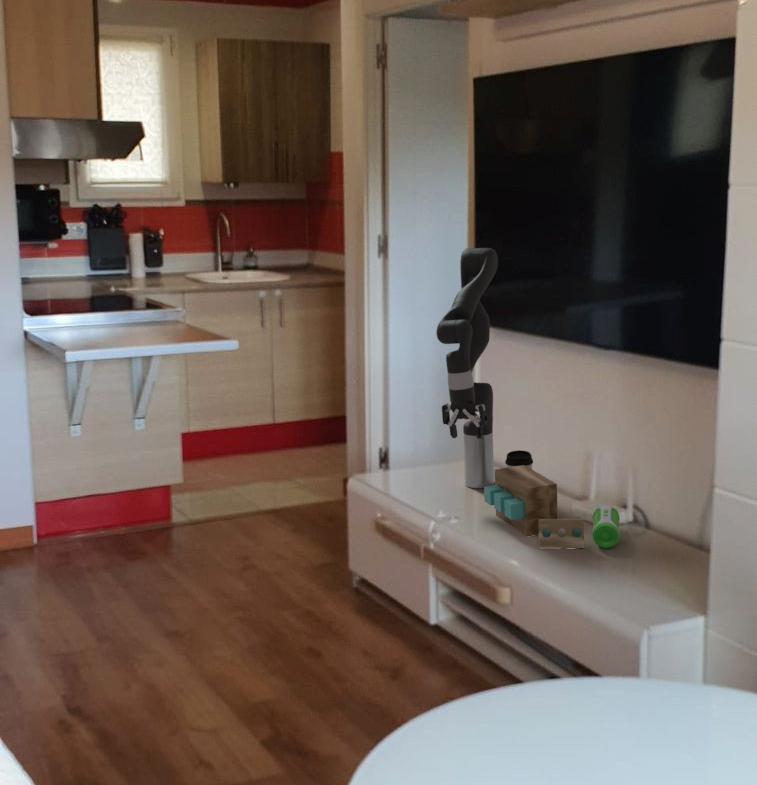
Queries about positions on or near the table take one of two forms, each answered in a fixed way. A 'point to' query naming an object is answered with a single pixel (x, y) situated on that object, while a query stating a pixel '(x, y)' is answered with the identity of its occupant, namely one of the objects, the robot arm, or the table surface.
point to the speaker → (605, 526)
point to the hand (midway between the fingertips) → (467, 437)
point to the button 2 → (514, 508)
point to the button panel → (528, 497)
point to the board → (561, 533)
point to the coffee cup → (519, 459)
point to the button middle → (501, 500)
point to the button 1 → (491, 493)
